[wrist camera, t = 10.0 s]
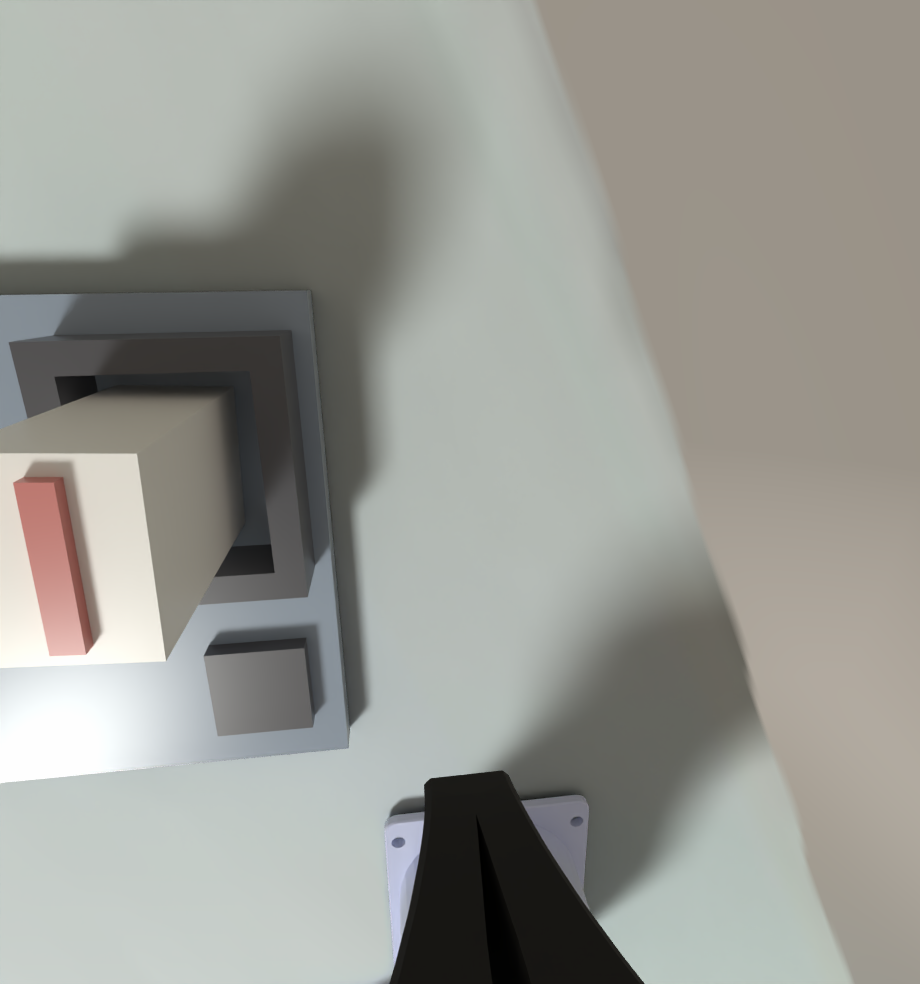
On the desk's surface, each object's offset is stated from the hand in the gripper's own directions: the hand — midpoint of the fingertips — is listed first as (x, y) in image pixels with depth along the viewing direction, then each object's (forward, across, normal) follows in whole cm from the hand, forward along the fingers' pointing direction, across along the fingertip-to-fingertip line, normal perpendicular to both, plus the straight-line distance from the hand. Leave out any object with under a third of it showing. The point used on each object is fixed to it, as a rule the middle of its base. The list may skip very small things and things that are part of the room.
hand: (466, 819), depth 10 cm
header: (+10, +6, -4) cm, 12 cm away
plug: (+10, +7, -4) cm, 12 cm away
